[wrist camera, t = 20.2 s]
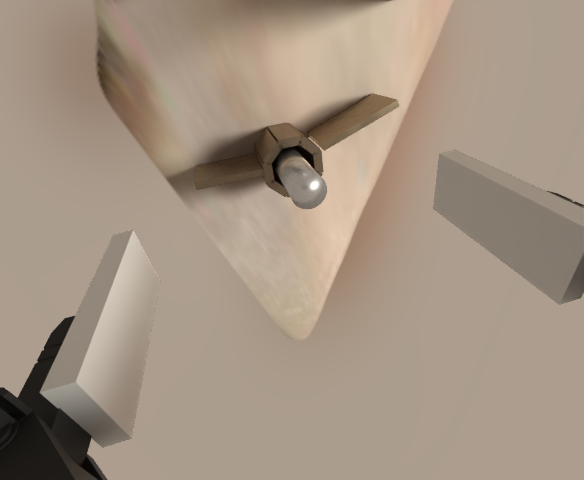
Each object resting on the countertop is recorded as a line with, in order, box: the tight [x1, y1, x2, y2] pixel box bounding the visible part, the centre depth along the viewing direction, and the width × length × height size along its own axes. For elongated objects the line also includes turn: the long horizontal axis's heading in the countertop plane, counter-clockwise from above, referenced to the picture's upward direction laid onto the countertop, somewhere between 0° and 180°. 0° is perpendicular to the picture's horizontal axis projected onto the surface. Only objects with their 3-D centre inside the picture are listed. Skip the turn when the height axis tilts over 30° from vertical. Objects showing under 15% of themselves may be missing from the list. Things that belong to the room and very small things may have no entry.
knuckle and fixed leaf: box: [195, 123, 323, 197], centre depth 39 cm, size 7×15×8 cm, turn 98°
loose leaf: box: [308, 94, 399, 151], centre depth 40 cm, size 10×1×6 cm, turn 117°
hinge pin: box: [272, 146, 327, 209], centre depth 37 cm, size 4×4×15 cm
